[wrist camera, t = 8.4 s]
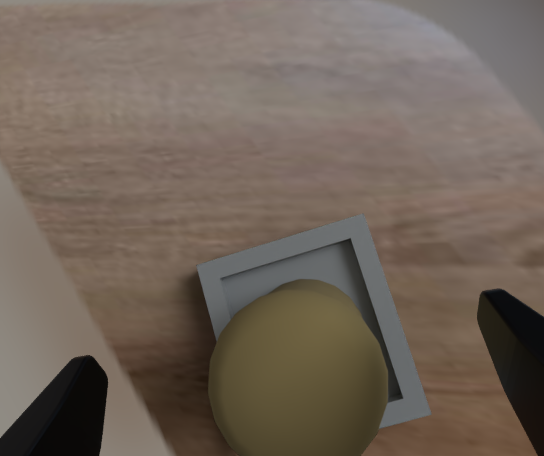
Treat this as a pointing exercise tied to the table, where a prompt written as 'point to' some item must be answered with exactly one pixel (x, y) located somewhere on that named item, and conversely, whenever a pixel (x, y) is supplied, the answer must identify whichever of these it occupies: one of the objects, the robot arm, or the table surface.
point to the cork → (298, 375)
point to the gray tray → (331, 269)
